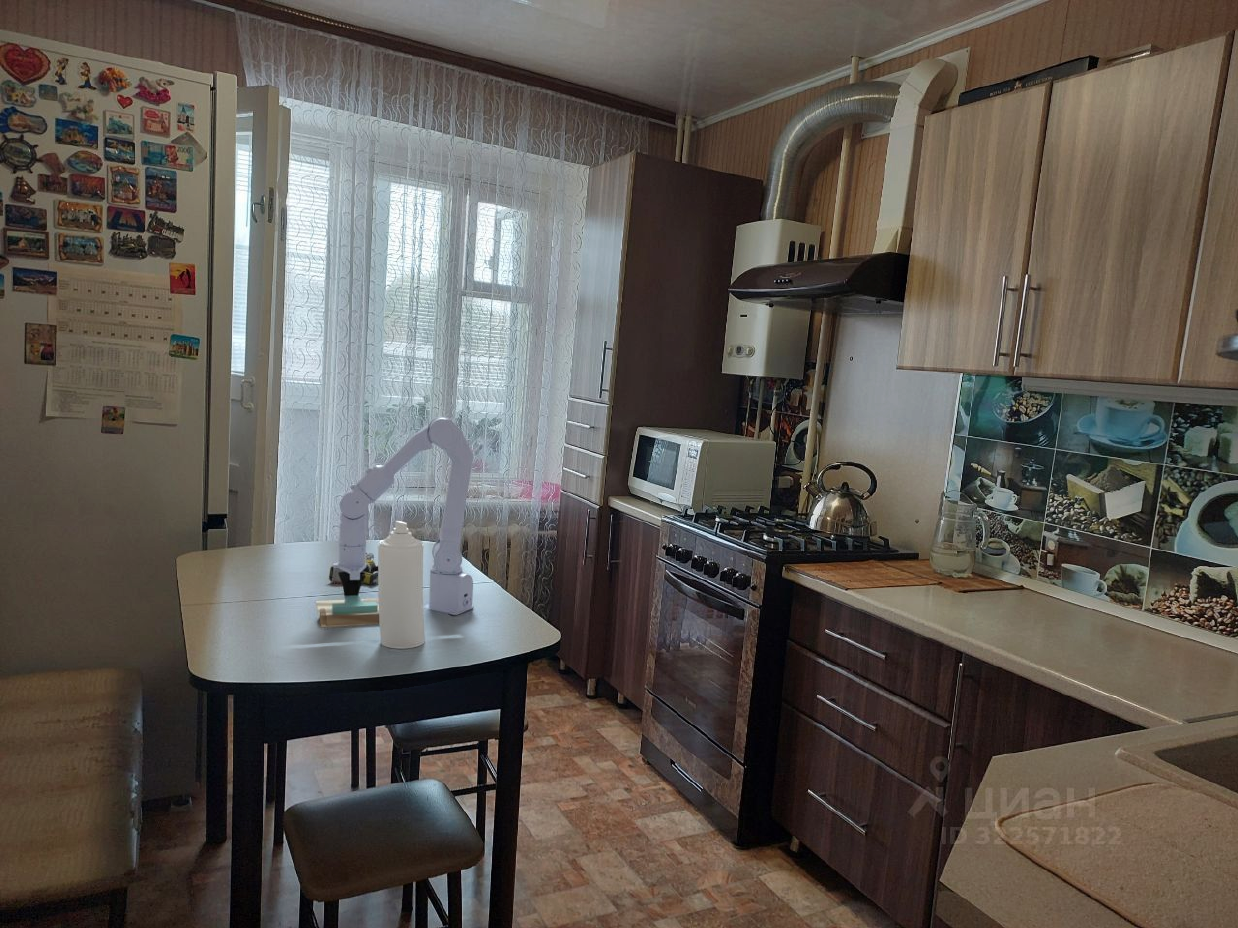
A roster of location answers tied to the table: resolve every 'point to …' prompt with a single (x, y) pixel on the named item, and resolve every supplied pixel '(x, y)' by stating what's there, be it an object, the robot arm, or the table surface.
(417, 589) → the spray can
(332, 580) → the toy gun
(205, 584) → the table surface
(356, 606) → the t block
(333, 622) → the board
